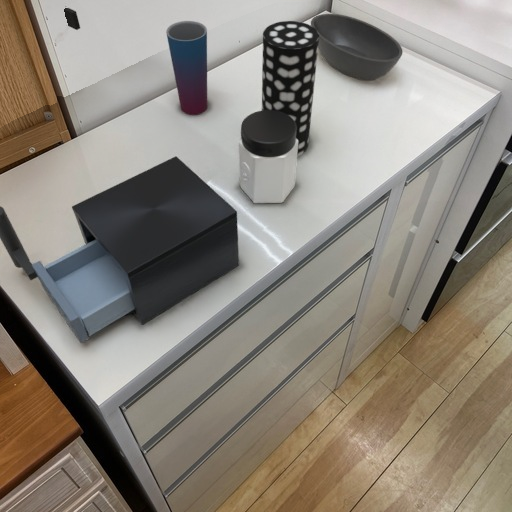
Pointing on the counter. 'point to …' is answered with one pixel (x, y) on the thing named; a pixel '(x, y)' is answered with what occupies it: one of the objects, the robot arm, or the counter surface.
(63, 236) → the counter surface
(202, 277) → the drawer box
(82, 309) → the blue-grey drawer tray
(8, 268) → the counter surface
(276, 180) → the jar
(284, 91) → the spotted tube
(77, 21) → the robot arm
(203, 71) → the cup
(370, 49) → the bowl
